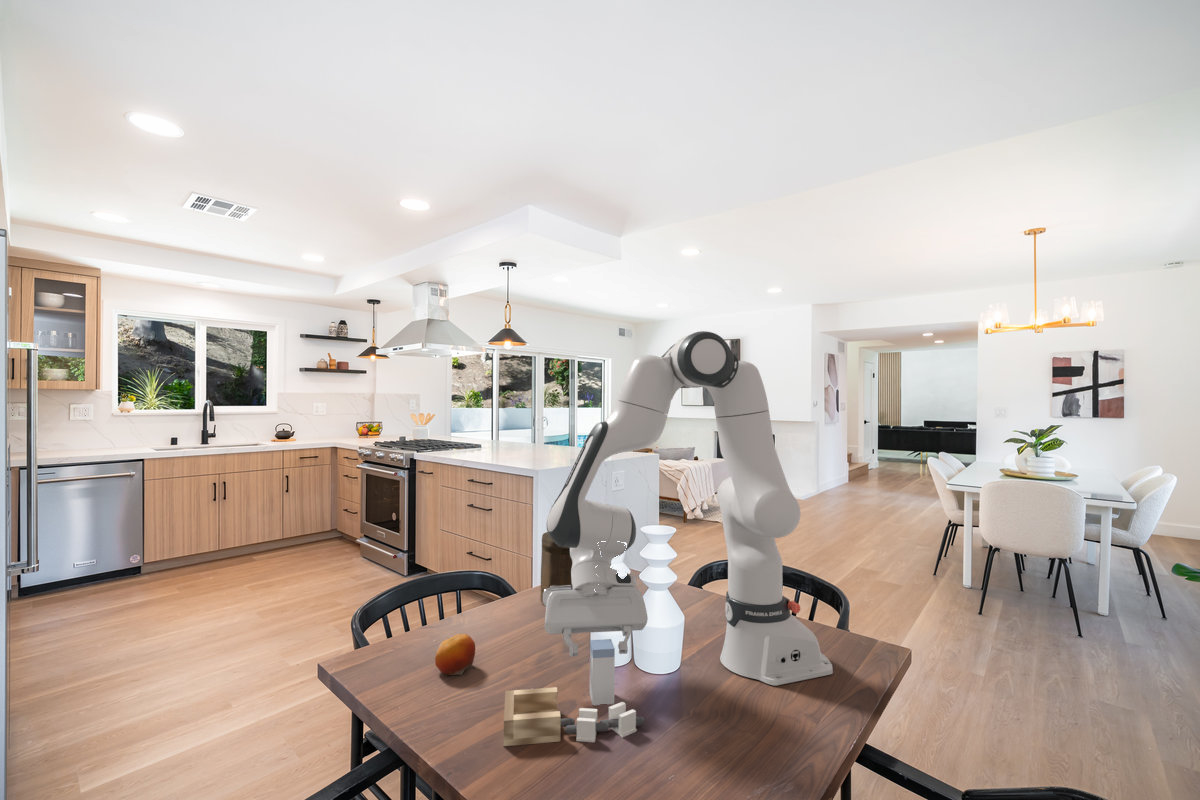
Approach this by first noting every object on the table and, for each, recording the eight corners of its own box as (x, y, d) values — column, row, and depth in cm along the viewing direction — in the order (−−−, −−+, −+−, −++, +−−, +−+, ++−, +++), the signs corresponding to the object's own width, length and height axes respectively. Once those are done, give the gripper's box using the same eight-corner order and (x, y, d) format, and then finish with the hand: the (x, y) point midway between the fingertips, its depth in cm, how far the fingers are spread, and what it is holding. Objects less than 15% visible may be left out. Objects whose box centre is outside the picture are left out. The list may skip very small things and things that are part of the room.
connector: (610, 692, 101) (610, 639, 101) (614, 703, 97) (614, 648, 97) (589, 693, 100) (590, 640, 100) (592, 705, 96) (592, 649, 96)
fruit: (469, 676, 104) (451, 637, 105) (439, 691, 106) (422, 653, 107) (491, 658, 111) (474, 622, 113) (463, 672, 113) (446, 637, 115)
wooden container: (599, 607, 143) (599, 525, 143) (544, 612, 140) (544, 528, 140) (587, 589, 158) (588, 514, 158) (537, 593, 154) (538, 516, 154)
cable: (642, 717, 92) (642, 710, 92) (647, 728, 89) (647, 721, 89) (548, 725, 90) (548, 718, 90) (549, 737, 86) (549, 729, 86)
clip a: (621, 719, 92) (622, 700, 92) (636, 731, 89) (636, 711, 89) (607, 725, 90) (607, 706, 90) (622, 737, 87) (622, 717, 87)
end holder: (556, 709, 95) (556, 687, 95) (560, 741, 86) (560, 716, 86) (505, 713, 94) (505, 690, 94) (503, 746, 85) (503, 720, 85)
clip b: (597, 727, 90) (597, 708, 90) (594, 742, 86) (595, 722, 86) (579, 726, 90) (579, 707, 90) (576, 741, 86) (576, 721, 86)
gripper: (543, 578, 107) (544, 650, 97) (643, 575, 109) (654, 644, 100) (541, 593, 111) (542, 663, 101) (638, 590, 114) (648, 657, 104)
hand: (598, 654), depth 100 cm, fingers open, 8 cm apart
